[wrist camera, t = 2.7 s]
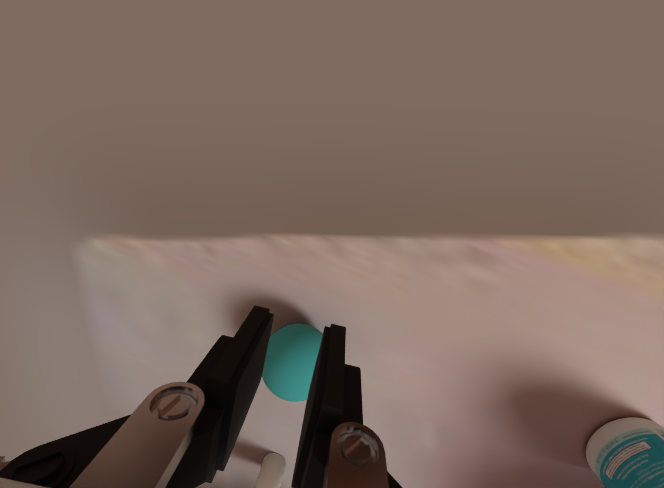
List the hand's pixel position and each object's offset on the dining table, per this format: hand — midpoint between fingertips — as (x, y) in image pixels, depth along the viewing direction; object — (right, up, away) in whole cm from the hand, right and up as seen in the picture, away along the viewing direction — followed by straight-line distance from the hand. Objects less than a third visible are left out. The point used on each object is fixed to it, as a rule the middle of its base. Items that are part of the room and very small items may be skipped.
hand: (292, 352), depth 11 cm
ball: (-1, -6, +14) cm, 15 cm away
